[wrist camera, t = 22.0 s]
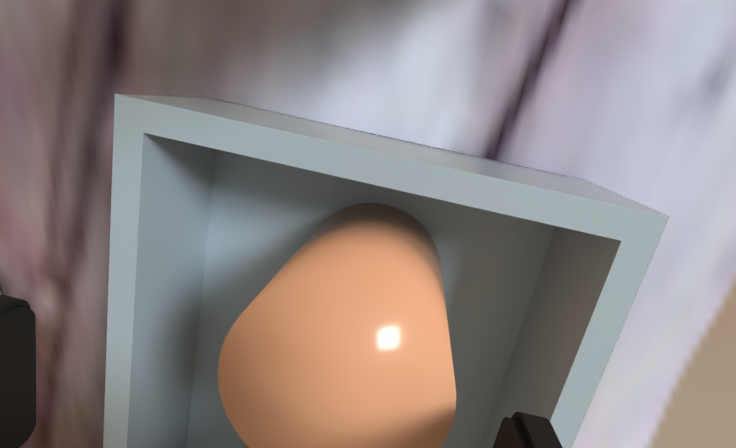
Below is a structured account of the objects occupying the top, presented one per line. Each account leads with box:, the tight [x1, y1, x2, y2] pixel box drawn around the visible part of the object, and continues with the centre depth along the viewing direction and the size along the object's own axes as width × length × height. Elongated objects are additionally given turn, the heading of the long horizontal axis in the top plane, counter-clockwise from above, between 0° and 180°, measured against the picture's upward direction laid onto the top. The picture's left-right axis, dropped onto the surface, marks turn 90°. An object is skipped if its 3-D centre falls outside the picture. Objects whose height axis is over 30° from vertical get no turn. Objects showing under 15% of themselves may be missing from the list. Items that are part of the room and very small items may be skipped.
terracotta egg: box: [218, 203, 456, 448], centre depth 12 cm, size 5×5×7 cm
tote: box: [103, 94, 670, 448], centre depth 15 cm, size 18×14×5 cm
